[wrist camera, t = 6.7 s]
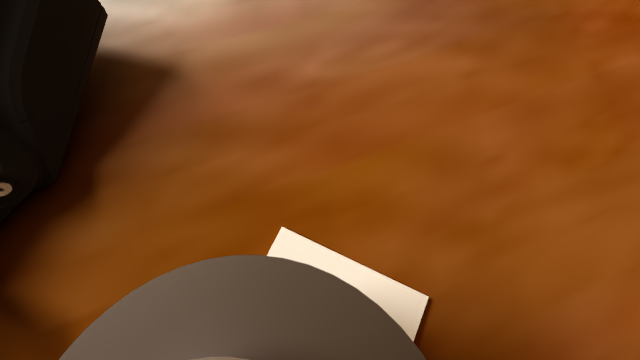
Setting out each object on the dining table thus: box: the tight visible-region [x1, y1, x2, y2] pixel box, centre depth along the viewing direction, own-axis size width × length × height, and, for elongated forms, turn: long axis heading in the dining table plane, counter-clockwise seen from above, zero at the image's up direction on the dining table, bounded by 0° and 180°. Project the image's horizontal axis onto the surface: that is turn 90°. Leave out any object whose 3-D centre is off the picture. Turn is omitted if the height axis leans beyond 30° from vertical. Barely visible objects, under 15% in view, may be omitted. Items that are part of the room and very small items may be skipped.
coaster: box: [267, 227, 429, 342], centre depth 17 cm, size 9×9×1 cm
